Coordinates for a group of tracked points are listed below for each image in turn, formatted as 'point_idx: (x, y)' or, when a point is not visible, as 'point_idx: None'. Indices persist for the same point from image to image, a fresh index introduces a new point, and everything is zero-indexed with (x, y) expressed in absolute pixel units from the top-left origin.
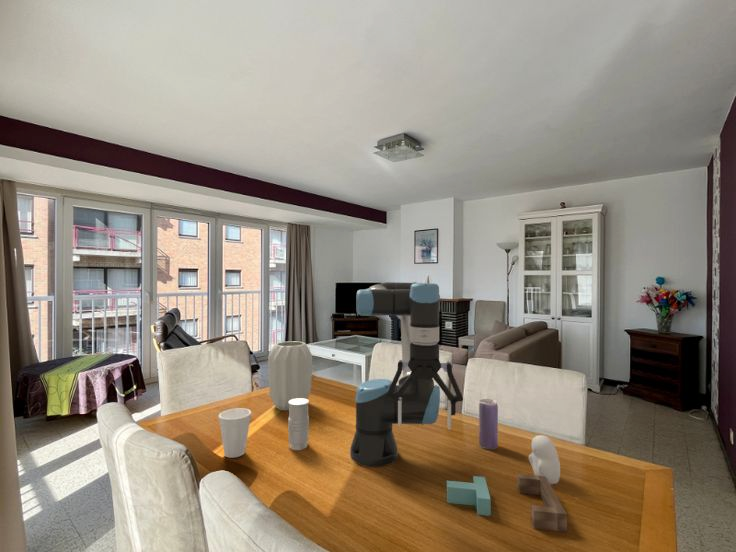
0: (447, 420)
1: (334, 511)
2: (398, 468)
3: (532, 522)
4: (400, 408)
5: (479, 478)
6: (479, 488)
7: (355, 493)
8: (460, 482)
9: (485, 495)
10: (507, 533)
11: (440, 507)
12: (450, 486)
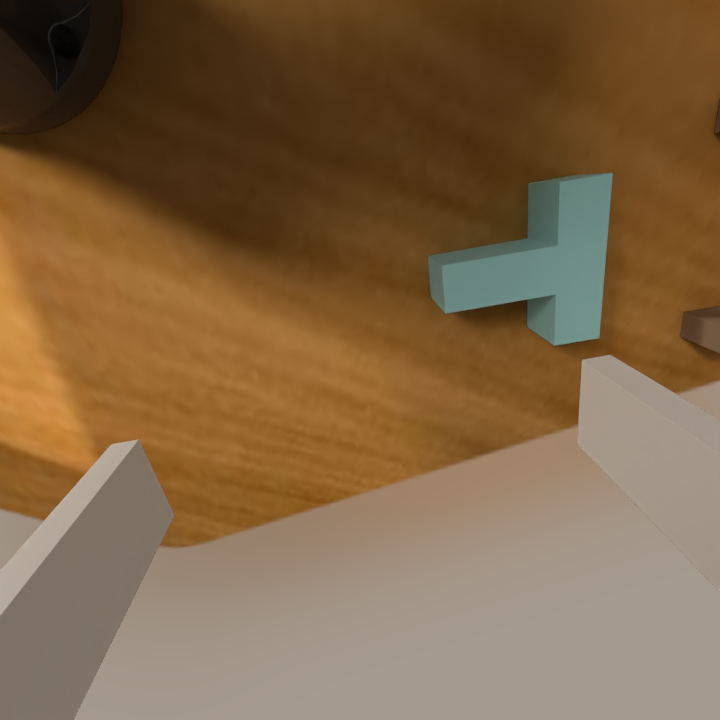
0: (612, 385)
1: None
2: (175, 92)
3: (688, 324)
4: (79, 696)
5: (585, 196)
6: (571, 279)
7: (108, 354)
8: (498, 260)
9: (585, 320)
10: None
11: (410, 331)
12: (457, 306)
